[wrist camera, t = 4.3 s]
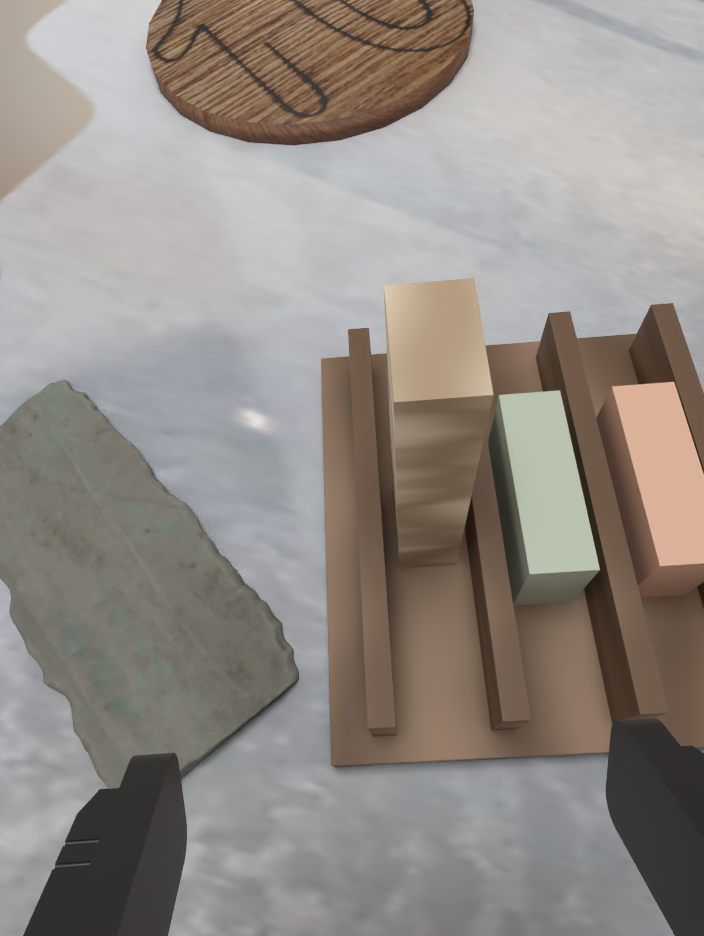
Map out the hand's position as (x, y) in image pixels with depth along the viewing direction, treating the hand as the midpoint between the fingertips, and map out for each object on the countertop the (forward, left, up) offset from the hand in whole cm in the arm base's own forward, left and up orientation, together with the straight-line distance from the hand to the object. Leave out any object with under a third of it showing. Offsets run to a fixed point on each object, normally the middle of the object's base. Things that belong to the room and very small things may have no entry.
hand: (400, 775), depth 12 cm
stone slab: (-14, +11, -18) cm, 25 cm away
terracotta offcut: (+11, +11, -15) cm, 22 cm away
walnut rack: (+6, +11, -17) cm, 21 cm away
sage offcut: (+7, +11, -15) cm, 20 cm away
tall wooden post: (+2, +11, -15) cm, 19 cm away
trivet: (-3, +53, -17) cm, 56 cm away
